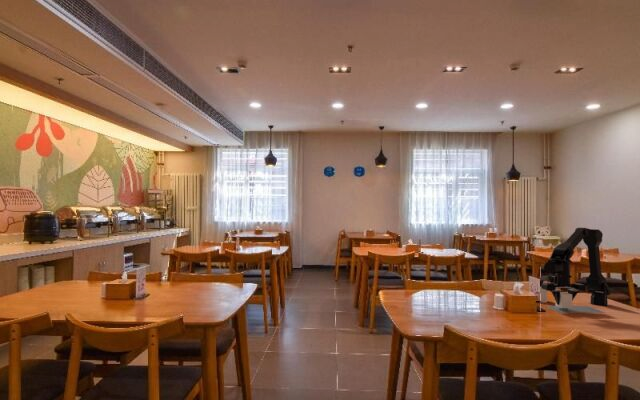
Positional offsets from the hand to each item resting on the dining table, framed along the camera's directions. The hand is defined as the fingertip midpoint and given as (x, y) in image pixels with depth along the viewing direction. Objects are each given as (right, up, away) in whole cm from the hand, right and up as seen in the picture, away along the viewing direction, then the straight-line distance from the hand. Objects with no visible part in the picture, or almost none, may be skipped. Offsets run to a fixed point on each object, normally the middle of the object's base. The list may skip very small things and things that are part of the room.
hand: (563, 304), depth 197 cm
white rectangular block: (0, -1, 0) cm, 1 cm away
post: (0, -3, 0) cm, 3 cm away
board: (+6, -3, +2) cm, 7 cm away
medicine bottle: (-2, -4, +21) cm, 21 cm away
